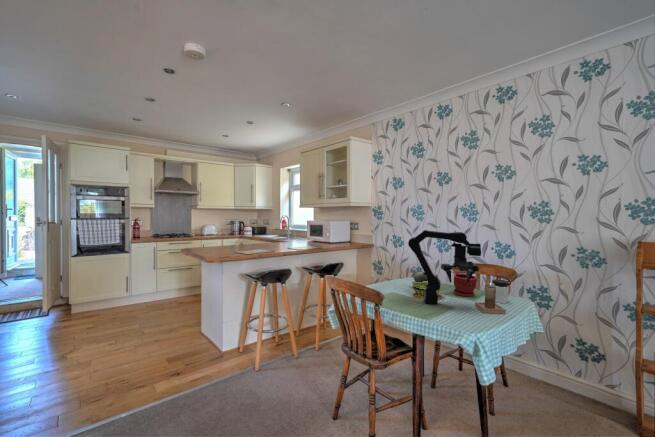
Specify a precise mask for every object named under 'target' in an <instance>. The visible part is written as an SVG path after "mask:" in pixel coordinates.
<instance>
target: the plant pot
mask: <svg viewBox="0 0 655 437" xmlns="http://www.w3.org/2000/svg"><path fill="white" fill-rule="evenodd" d="M453 285H454V290H453V293H455V294H456V295H458V296H461V297H472V296H474V295H475V292H474V291H475V289H476V286H477V277H476V276H474V275H472V276H471V278H470V280H469V283H467V273H454V275H453Z"/></svg>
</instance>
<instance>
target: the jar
mask: <svg viewBox="0 0 655 437" xmlns="http://www.w3.org/2000/svg"><path fill="white" fill-rule="evenodd" d="M491 281H492V282H491V283H494V284H495V287H496V299H495V303H497V304H498V303H499V304H507V303H509V292H510V287H509V280H504V279H497V278H496V279H492V280H491Z"/></svg>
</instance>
